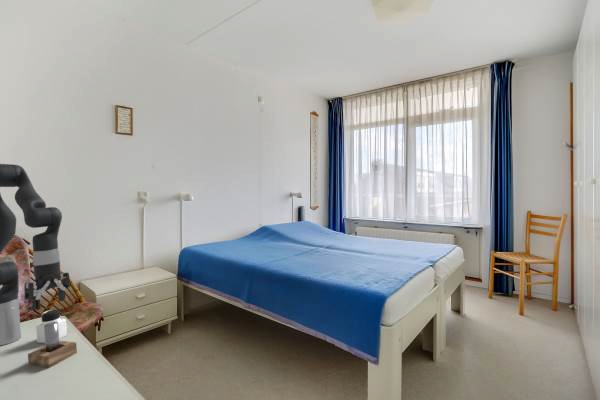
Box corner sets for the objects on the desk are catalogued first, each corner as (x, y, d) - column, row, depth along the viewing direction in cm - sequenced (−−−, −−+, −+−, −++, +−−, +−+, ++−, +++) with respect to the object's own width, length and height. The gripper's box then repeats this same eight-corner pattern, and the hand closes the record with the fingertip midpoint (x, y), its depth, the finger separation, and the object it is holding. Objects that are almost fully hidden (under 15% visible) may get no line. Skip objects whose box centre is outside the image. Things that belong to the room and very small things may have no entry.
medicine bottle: (67, 335, 133) (65, 307, 132) (52, 343, 125) (50, 314, 125) (52, 334, 133) (50, 307, 133) (36, 343, 126) (34, 314, 126)
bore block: (28, 364, 110) (27, 353, 110) (57, 350, 119) (56, 340, 119) (49, 367, 107) (48, 356, 107) (76, 352, 117) (76, 342, 117)
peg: (43, 358, 112) (41, 326, 111) (54, 352, 116) (52, 321, 115) (51, 359, 111) (49, 326, 110) (62, 353, 115) (60, 322, 114)
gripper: (58, 257, 120) (61, 297, 121) (17, 266, 106) (20, 312, 107) (73, 257, 118) (76, 298, 119) (32, 267, 104) (36, 313, 105)
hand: (49, 305), depth 113 cm, fingers open, 8 cm apart
